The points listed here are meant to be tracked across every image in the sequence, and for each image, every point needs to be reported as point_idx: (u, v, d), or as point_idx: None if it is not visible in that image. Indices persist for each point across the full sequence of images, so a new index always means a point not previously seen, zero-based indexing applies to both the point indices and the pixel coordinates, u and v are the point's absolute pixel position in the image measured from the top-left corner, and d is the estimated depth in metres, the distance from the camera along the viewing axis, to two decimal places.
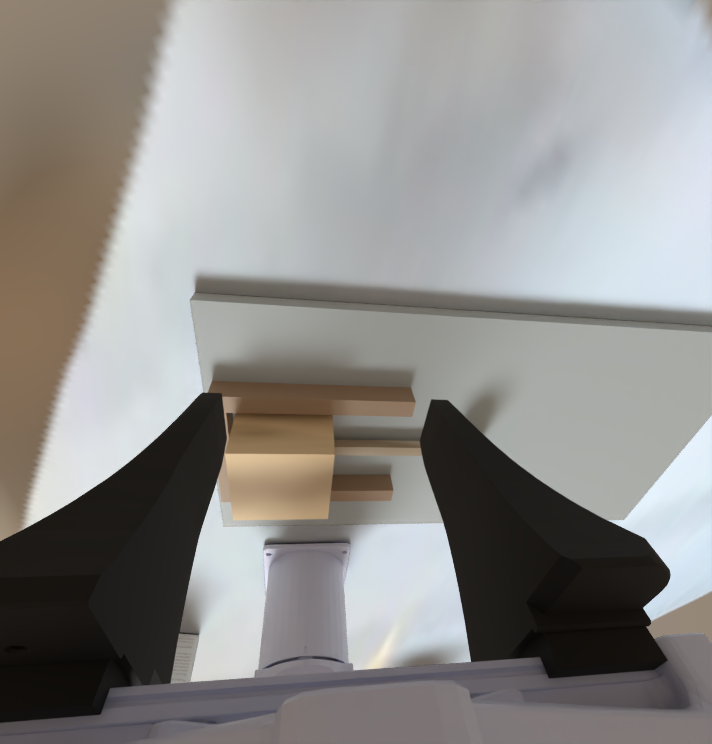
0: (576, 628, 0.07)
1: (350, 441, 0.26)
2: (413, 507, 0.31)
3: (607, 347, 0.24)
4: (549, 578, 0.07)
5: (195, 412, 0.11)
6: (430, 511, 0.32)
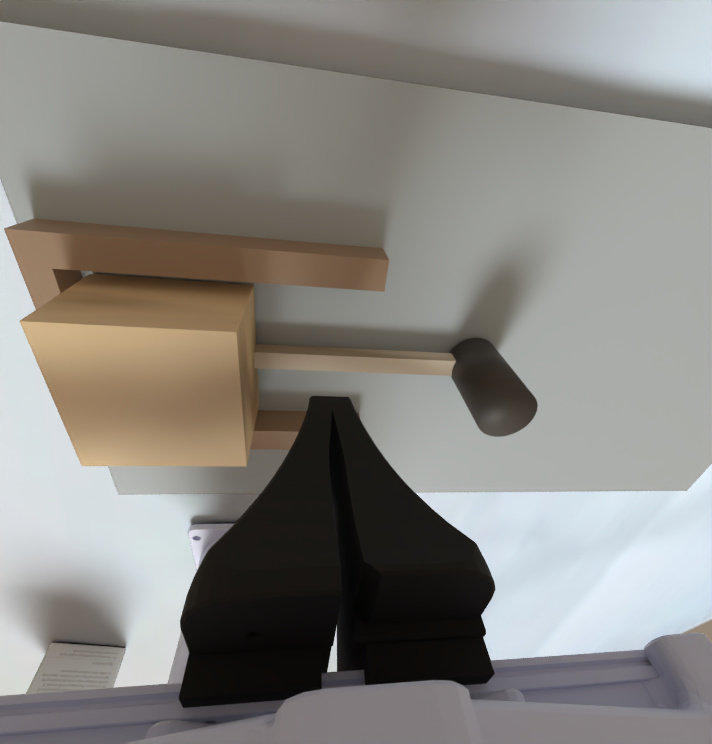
0: (400, 638, 0.07)
1: (289, 347, 0.16)
2: (396, 467, 0.22)
3: (709, 177, 0.14)
4: (362, 585, 0.06)
5: (318, 415, 0.11)
6: (420, 474, 0.22)
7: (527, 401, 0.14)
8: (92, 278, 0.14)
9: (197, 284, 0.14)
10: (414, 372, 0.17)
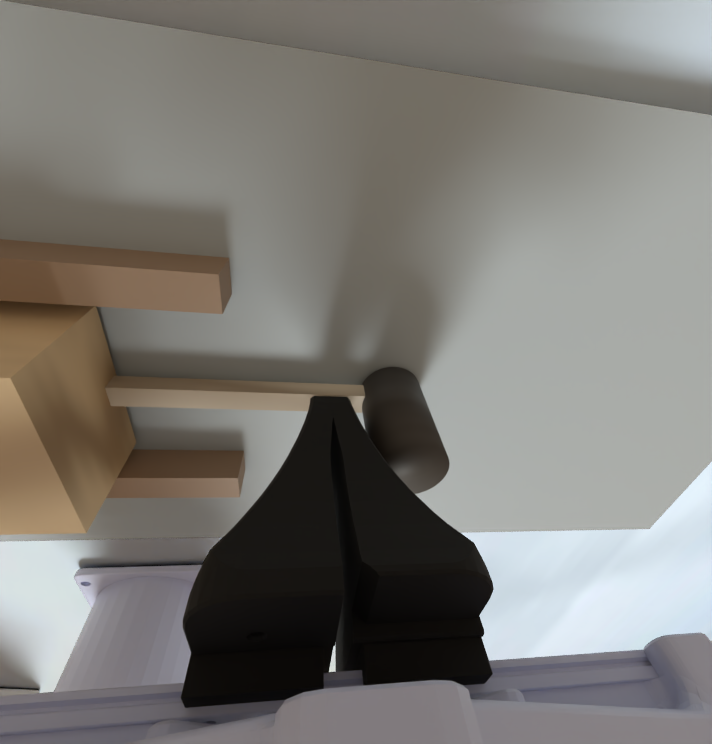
0: (398, 639, 0.07)
1: (156, 379, 0.13)
2: None
3: (643, 169, 0.11)
4: (361, 586, 0.06)
5: (319, 415, 0.11)
6: None
7: (434, 455, 0.11)
8: None
9: (16, 305, 0.11)
10: None
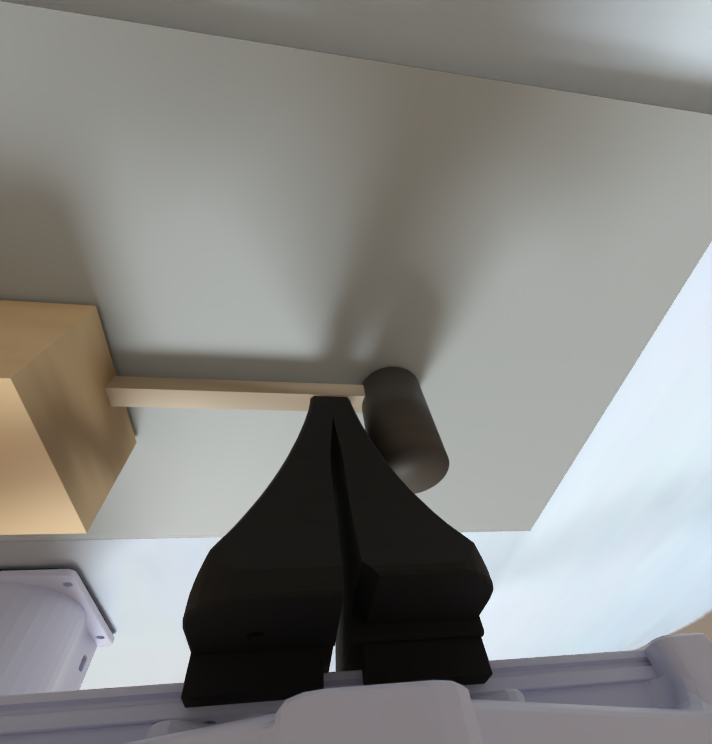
0: (398, 639, 0.07)
1: (156, 380, 0.13)
2: (134, 510, 0.18)
3: (382, 134, 0.10)
4: (361, 586, 0.06)
5: (319, 415, 0.11)
6: (172, 517, 0.18)
7: (434, 455, 0.11)
8: None
9: (16, 305, 0.11)
10: None
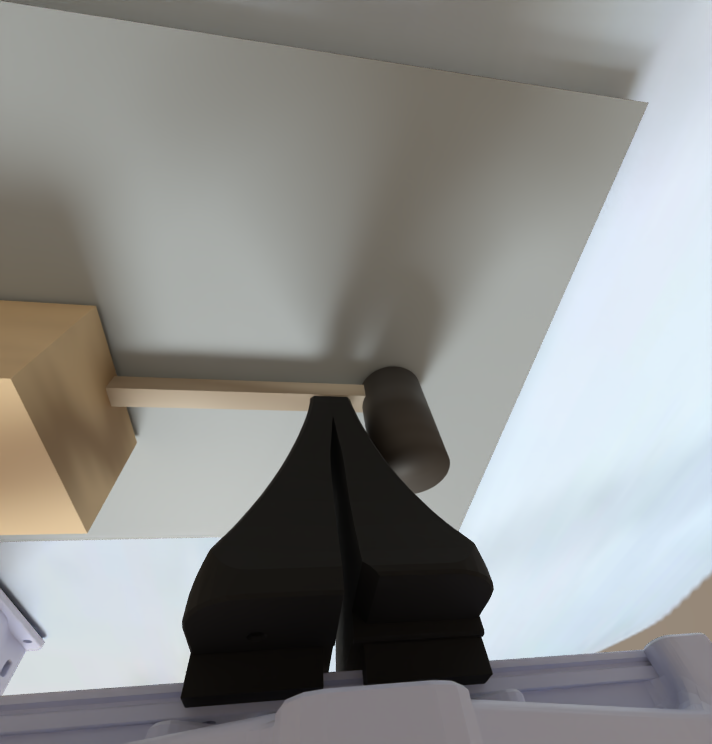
0: (399, 638, 0.07)
1: (156, 380, 0.13)
2: None
3: (207, 110, 0.09)
4: (361, 586, 0.06)
5: (319, 415, 0.11)
6: None
7: (435, 455, 0.11)
8: None
9: (16, 306, 0.11)
10: None
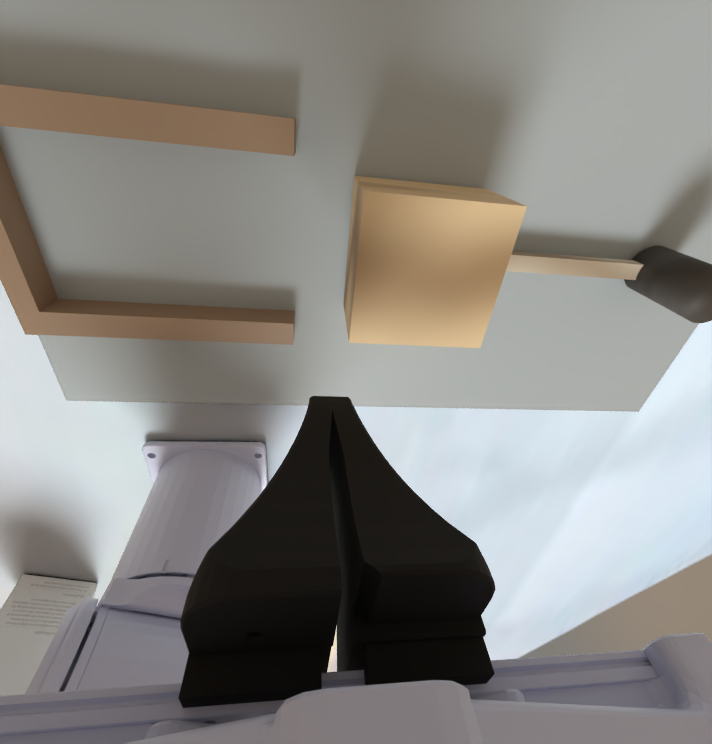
0: (400, 639, 0.07)
1: None
2: (340, 375, 0.22)
3: (617, 40, 0.14)
4: (362, 586, 0.06)
5: (318, 415, 0.11)
6: (365, 384, 0.23)
7: None
8: (362, 177, 0.16)
9: (444, 185, 0.16)
10: (605, 275, 0.19)
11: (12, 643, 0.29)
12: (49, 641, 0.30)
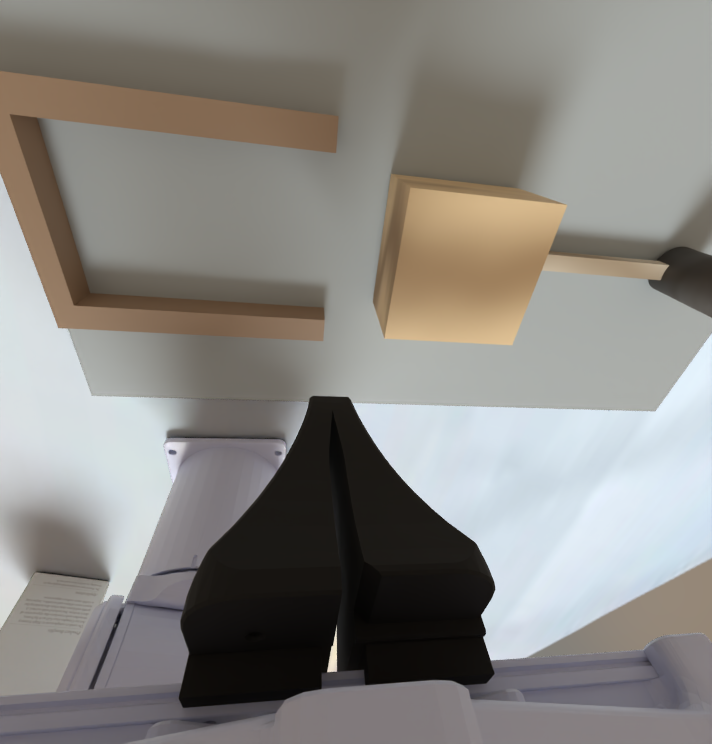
0: (400, 638, 0.07)
1: None
2: (365, 372, 0.22)
3: (653, 44, 0.15)
4: (362, 585, 0.06)
5: (318, 415, 0.11)
6: (389, 382, 0.23)
7: None
8: (399, 175, 0.16)
9: (478, 184, 0.16)
10: (631, 275, 0.19)
11: (26, 641, 0.28)
12: (63, 639, 0.29)
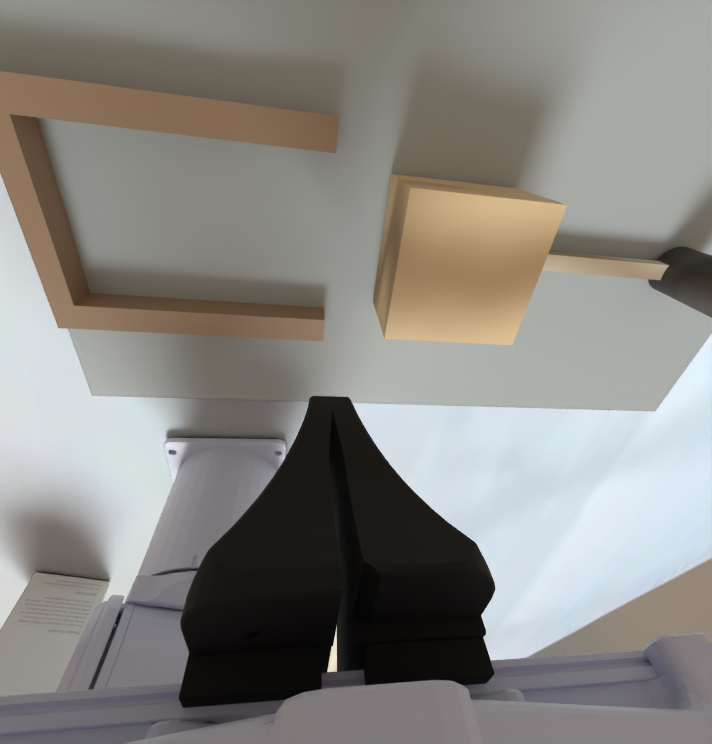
0: (400, 638, 0.07)
1: None
2: (365, 372, 0.22)
3: (653, 44, 0.15)
4: (362, 585, 0.06)
5: (318, 415, 0.11)
6: (389, 382, 0.23)
7: None
8: (399, 175, 0.16)
9: (478, 184, 0.16)
10: (631, 275, 0.19)
11: (26, 641, 0.28)
12: (63, 639, 0.29)
